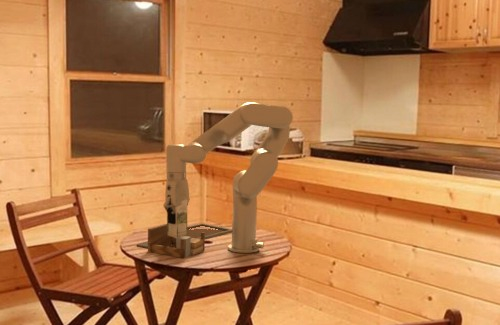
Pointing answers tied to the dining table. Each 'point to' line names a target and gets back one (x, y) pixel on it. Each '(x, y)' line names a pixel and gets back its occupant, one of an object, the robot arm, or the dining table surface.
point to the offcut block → (187, 244)
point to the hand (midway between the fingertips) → (177, 221)
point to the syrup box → (178, 221)
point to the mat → (143, 244)
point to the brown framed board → (207, 231)
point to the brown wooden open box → (166, 242)
